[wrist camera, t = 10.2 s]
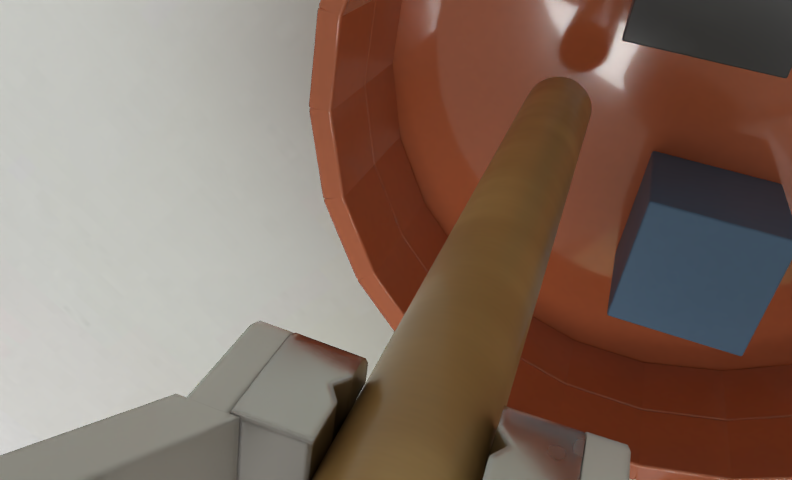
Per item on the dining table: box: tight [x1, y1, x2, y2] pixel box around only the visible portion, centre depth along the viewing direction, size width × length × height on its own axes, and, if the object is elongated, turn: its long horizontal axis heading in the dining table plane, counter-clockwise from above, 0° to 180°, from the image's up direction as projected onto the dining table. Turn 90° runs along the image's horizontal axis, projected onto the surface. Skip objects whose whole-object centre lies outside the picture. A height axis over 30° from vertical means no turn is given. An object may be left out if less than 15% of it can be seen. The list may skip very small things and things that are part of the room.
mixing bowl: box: [309, 0, 792, 480], centre depth 20 cm, size 21×21×6 cm
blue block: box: [607, 151, 792, 356], centre depth 22 cm, size 4×4×4 cm
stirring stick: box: [312, 77, 592, 480], centre depth 13 cm, size 2×2×18 cm
